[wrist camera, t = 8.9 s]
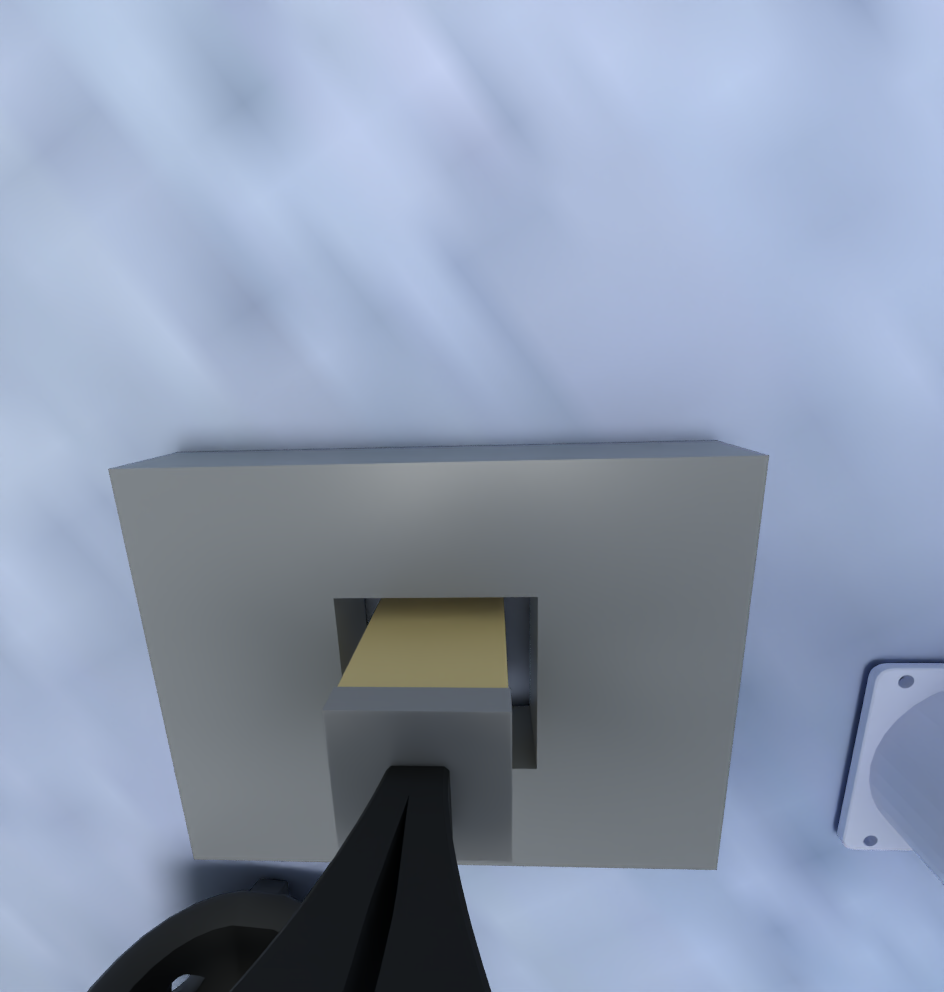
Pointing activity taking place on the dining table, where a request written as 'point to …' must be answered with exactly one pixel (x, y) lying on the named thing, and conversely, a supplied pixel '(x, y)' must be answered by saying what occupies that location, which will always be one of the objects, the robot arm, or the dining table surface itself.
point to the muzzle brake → (204, 943)
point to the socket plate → (454, 574)
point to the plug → (428, 715)
